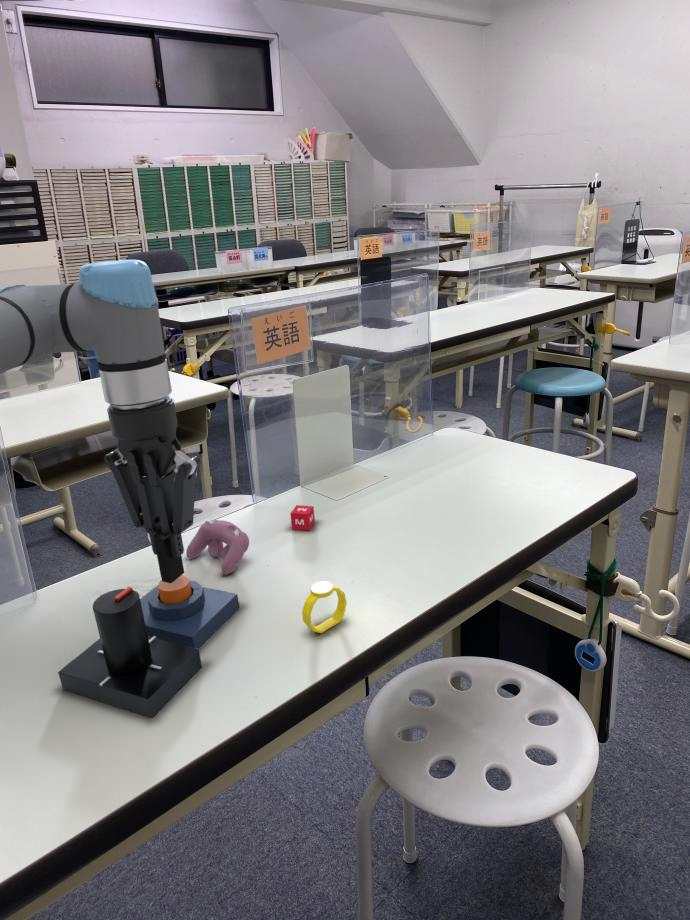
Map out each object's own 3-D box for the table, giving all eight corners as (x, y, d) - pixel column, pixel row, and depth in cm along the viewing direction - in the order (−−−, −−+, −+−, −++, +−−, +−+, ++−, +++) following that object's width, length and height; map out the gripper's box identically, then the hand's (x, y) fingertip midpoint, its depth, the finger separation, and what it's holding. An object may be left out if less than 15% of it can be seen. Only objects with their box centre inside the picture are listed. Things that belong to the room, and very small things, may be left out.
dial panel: (61, 690, 78) (56, 671, 77) (117, 643, 86) (113, 625, 85) (151, 718, 73) (147, 698, 72) (202, 666, 81) (199, 647, 80)
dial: (131, 678, 75) (117, 615, 72) (97, 668, 77) (81, 606, 74) (160, 651, 80) (148, 590, 77) (127, 642, 82) (113, 582, 79)
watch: (338, 612, 89) (334, 572, 87) (351, 621, 87) (348, 581, 85) (300, 632, 86) (296, 591, 83) (314, 642, 84) (310, 600, 81)
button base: (119, 632, 88) (113, 606, 87) (168, 592, 97) (163, 567, 95) (194, 652, 83) (189, 624, 82) (239, 607, 92) (235, 582, 90)
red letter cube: (292, 529, 112) (290, 513, 111) (298, 521, 115) (296, 505, 114) (309, 530, 111) (307, 514, 110) (315, 522, 114) (313, 506, 113)
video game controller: (246, 576, 102) (257, 530, 102) (223, 576, 98) (234, 529, 98) (205, 557, 108) (215, 514, 108) (182, 557, 105) (192, 512, 105)
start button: (153, 601, 88) (151, 588, 87) (173, 585, 91) (171, 572, 90) (179, 607, 86) (176, 593, 85) (198, 591, 89) (195, 577, 89)
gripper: (205, 393, 79) (232, 570, 88) (118, 388, 85) (152, 555, 93) (164, 413, 73) (197, 601, 82) (73, 406, 78) (113, 583, 87)
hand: (173, 576), depth 87 cm, fingers closed
